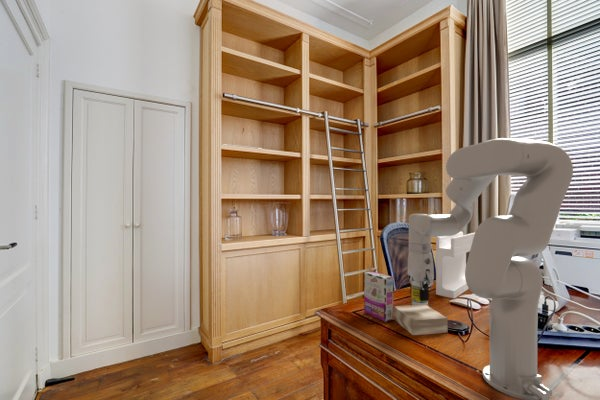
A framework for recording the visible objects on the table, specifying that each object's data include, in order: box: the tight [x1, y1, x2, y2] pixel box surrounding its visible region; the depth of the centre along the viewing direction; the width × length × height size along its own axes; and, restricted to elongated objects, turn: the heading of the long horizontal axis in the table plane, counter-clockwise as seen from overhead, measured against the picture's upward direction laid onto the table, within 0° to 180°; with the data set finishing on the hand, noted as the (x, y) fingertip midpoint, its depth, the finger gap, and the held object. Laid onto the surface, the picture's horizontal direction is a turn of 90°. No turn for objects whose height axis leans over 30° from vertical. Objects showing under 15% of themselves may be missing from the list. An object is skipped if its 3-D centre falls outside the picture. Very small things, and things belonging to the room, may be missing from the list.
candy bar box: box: [363, 270, 394, 323], centre depth 113 cm, size 11×5×16 cm, turn 33°
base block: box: [393, 304, 449, 336], centre depth 104 cm, size 13×13×5 cm
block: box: [435, 231, 475, 299], centre depth 148 cm, size 35×8×28 cm, turn 134°
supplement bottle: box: [410, 277, 427, 305], centre depth 104 cm, size 5×5×10 cm
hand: (419, 296), depth 104 cm, fingers closed on supplement bottle, 5 cm apart
